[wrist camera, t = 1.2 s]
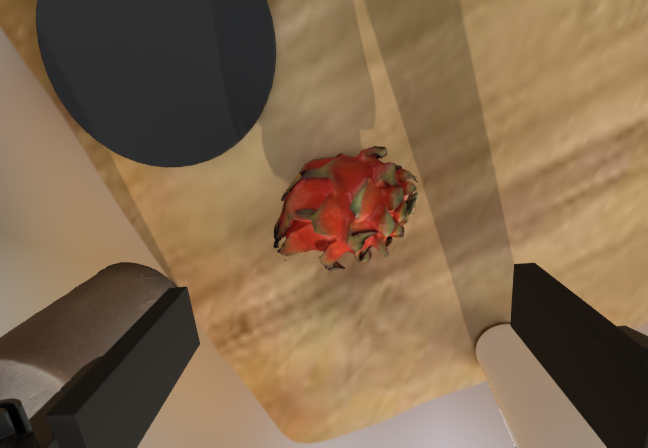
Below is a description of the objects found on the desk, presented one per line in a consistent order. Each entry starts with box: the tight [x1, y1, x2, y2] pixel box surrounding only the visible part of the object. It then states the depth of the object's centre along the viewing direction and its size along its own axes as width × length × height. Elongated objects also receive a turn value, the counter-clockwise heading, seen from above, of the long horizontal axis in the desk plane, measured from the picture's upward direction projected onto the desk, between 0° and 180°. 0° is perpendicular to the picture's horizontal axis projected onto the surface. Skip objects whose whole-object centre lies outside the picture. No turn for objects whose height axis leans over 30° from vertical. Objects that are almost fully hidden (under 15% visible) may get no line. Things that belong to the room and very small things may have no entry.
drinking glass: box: [475, 324, 607, 448], centre depth 27 cm, size 7×7×15 cm
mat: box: [36, 0, 276, 167], centre depth 27 cm, size 18×18×1 cm
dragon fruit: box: [274, 146, 418, 271], centre depth 27 cm, size 8×8×12 cm
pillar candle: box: [0, 262, 176, 419], centre depth 27 cm, size 10×10×15 cm
